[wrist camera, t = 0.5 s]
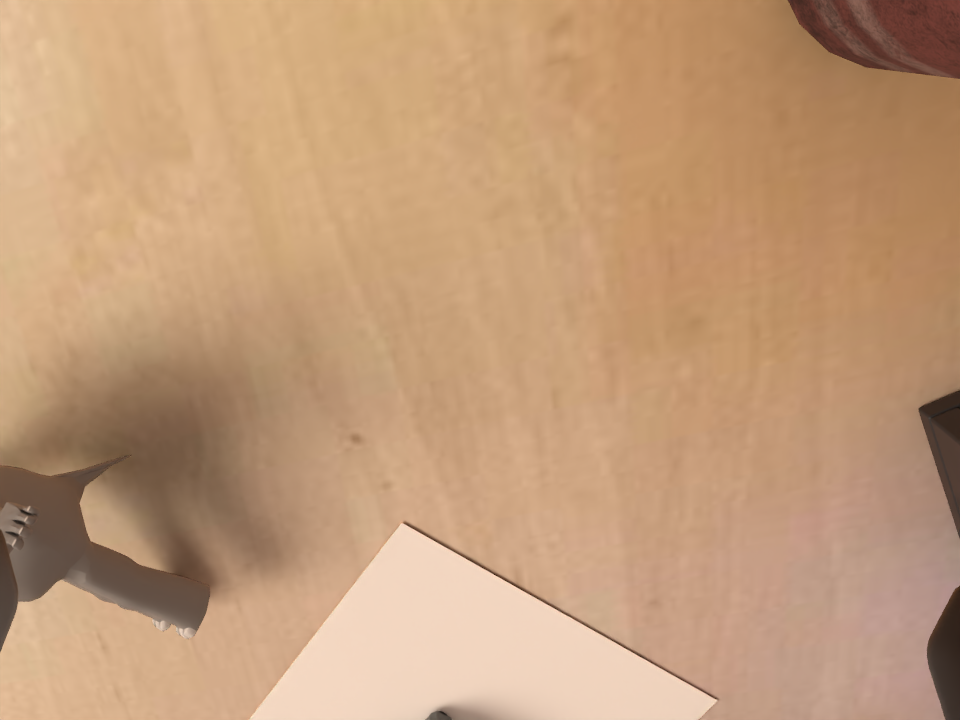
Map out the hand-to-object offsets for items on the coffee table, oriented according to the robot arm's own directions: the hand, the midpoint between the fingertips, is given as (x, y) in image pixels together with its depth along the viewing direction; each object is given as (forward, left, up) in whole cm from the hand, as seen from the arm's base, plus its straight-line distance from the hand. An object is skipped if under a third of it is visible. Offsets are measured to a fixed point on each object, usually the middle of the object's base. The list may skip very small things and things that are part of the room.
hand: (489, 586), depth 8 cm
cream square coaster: (-8, -15, -14) cm, 22 cm away
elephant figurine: (-12, -1, -14) cm, 19 cm away
